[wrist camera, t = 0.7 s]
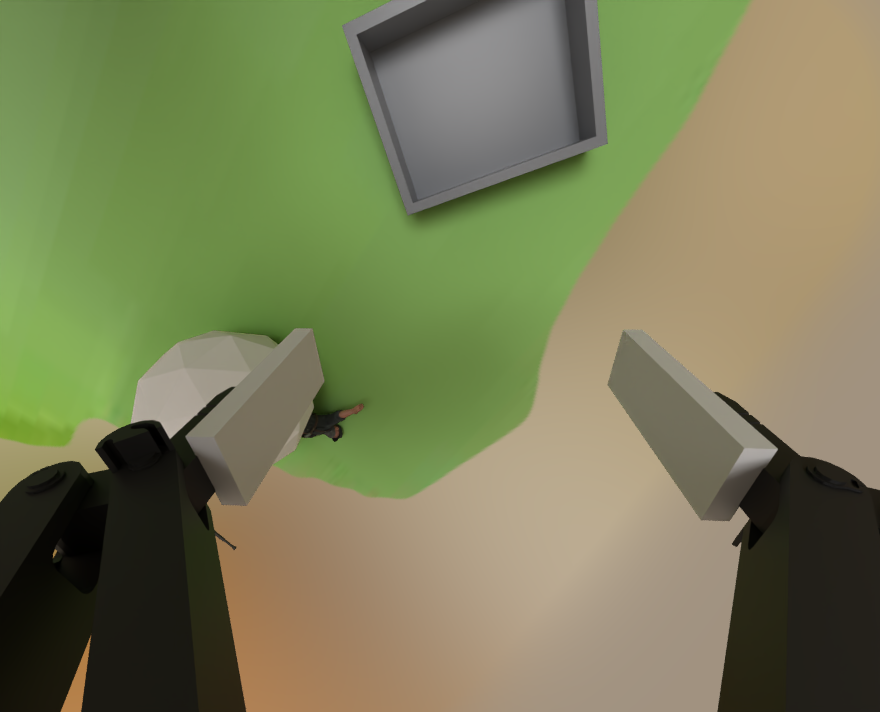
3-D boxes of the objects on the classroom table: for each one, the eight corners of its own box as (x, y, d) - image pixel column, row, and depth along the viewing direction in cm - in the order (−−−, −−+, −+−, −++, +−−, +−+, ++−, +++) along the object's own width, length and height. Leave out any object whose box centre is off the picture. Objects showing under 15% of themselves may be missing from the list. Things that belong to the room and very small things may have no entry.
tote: (414, 209, 35) (407, 215, 30) (359, 48, 29) (342, 25, 24) (586, 147, 31) (607, 143, 27) (567, -52, 25) (589, -99, 21)
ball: (207, 270, 32) (111, 550, 20) (382, 361, 51) (386, 535, 39) (133, 338, 40) (32, 571, 28) (309, 396, 58) (293, 550, 46)
